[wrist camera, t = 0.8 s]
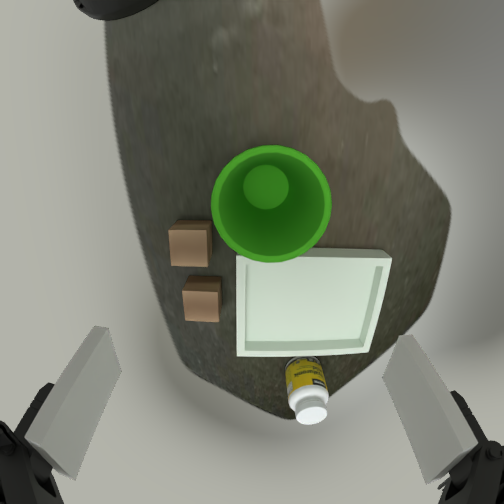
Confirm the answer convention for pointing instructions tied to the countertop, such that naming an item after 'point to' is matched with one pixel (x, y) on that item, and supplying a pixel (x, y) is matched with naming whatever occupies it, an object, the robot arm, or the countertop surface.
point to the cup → (271, 203)
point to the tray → (310, 302)
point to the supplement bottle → (306, 389)
